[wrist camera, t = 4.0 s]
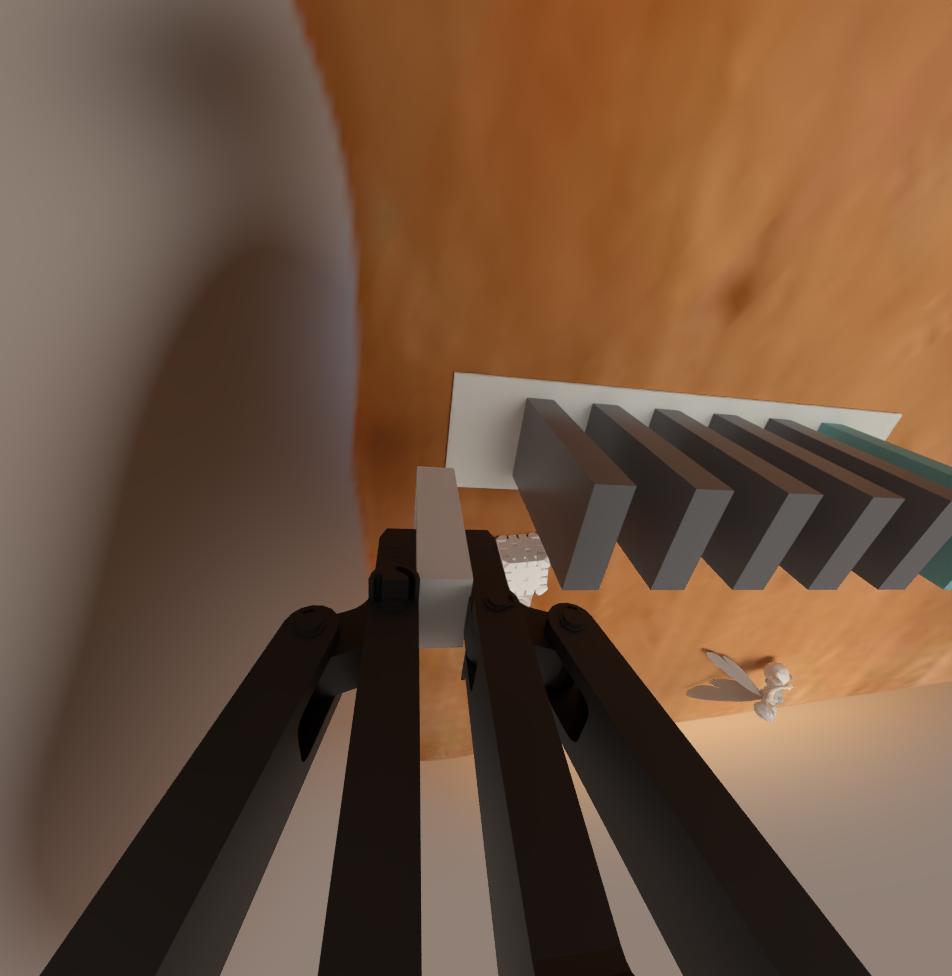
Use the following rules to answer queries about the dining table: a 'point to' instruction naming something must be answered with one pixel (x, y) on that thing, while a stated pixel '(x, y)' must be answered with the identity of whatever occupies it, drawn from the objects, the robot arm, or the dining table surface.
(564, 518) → the domino
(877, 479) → the domino
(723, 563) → the domino
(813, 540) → the domino
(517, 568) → the game pieces
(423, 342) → the dining table surface
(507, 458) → the mat
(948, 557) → the domino
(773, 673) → the fairy figurine
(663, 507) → the domino
